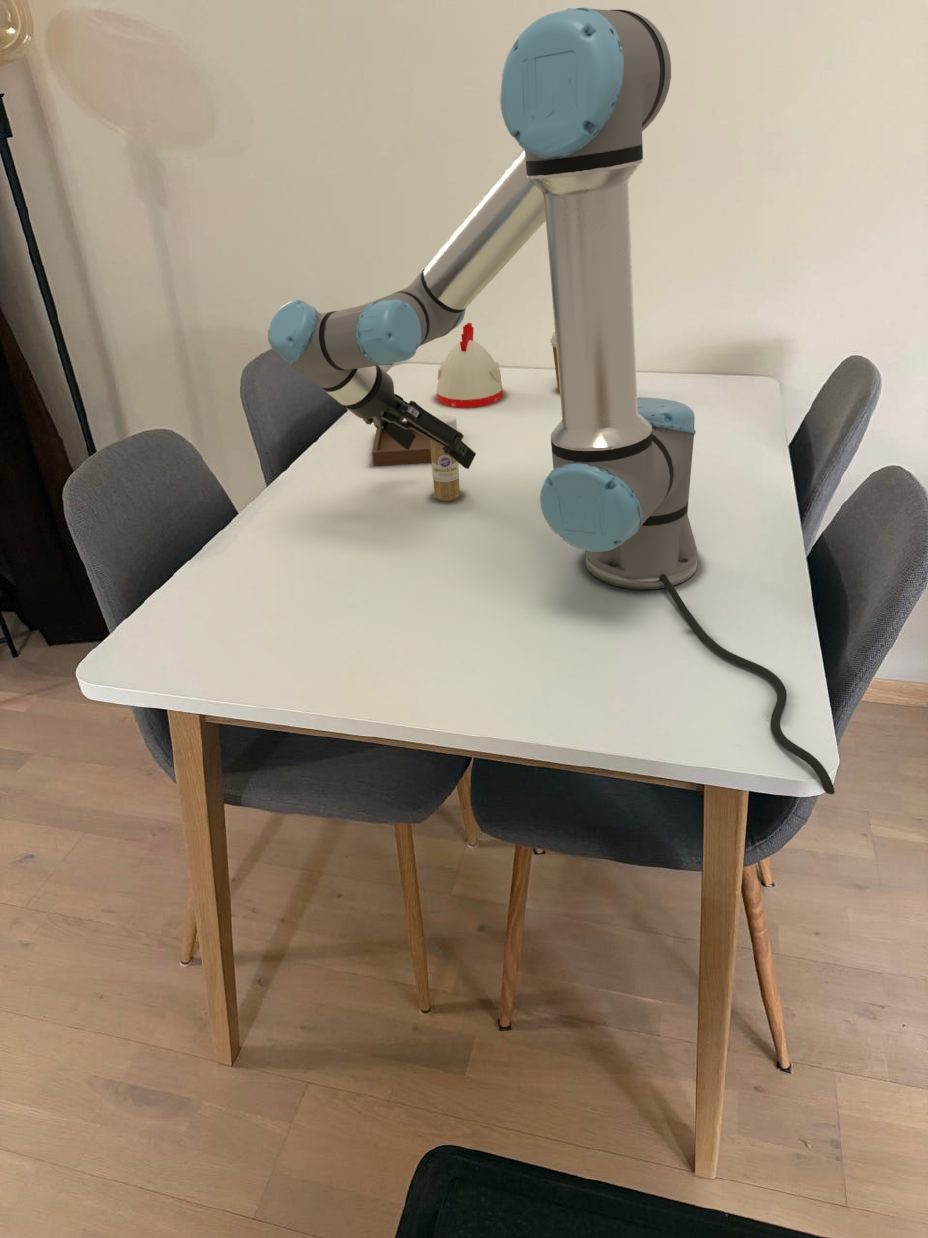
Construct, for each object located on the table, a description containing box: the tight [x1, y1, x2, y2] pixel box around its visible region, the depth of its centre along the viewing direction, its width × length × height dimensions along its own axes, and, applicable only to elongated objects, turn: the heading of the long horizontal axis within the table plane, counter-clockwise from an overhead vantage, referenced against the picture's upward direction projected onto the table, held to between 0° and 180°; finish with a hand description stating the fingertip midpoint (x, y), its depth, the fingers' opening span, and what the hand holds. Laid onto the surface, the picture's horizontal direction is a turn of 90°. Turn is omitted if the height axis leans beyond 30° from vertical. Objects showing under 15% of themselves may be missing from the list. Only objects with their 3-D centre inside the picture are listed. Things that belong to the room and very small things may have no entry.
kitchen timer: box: [436, 322, 503, 409], centre depth 189 cm, size 14×14×15 cm
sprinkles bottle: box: [430, 413, 462, 502], centre depth 146 cm, size 5×5×14 cm
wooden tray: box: [371, 420, 432, 467], centre depth 168 cm, size 16×15×3 cm
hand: (439, 451), depth 145 cm, fingers open, 13 cm apart
